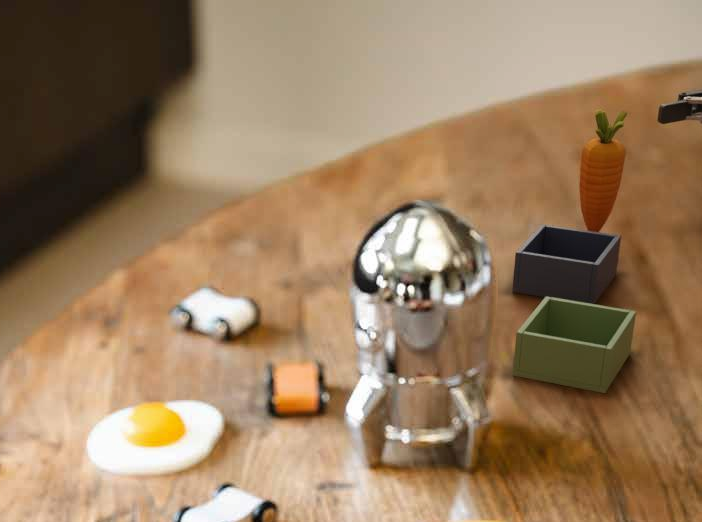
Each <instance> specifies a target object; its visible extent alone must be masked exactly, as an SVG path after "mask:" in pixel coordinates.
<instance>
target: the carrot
mask: <svg viewBox="0 0 702 522" xmlns="http://www.w3.org/2000/svg"><path fill="white" fill-rule="evenodd" d="M627 115H628V112H626V111H624V110H622V111H620V113H619V115H618V116H617V117H616V119H615V121H614V123H613V125H610V123H609V119H608V116H607V114H606V111H602V109H597V110H595V111H594V116H595V121H596V122H595V123H596V126H597V128H596V129H594V132H595V133H596V135H597V136H598V138H593V139H591V140H590V141H589V142H587V143H586V144H585V145H584V146H583V148H582V150H581V157H580V158H581V159H580V168H579V169H580V170H579V201H580V211H581V215H582V219H583V222H584V224H585V228H586V231H593V232H600V233H601V230H602V229H603V227H604V226H605V224H606V223H607V221H608V219H609V217H610V215H611V213H612V211H613V209H614V206H615V203H616V200H617V197H618V193H619V190H620V187H621V182H622V177H623V171H624V166H625V161H626V146H624V144H623V143H622V142H620V141H619V140H617V139H615V138H614V137H615V135H616V133H617V132H618V131H619V130H620V129H621V128H623V127H624V126H625V123H624V122H623V121H624V120H625V119H626V117H627Z"/></svg>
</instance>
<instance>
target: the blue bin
mask: <svg viewBox="0 0 702 522" xmlns="http://www.w3.org/2000/svg"><path fill="white" fill-rule="evenodd" d="M621 241H622V235H620V234H613V233H606V232H601V231H600V232H593V231H588V230H587V229H586V230H585V229H579V228H570V227H563V226H556V225H549V224H543V223H541V224H540V225H539V227H538V228H537V229H536V230H534V232H533V233H532V234H531V236H529V237H528V238H527V239H526V241H525V242H524V243H523V244H522V245H521V246H520V247H519V248H518V249H517V250H516V252H515V254H514V267H513V279H512V289H511V291H512V293H516V294H521V295H528V296H533V297H540V298H545V297H546V296H547V297H553V298H559V299H565V300H572V301H578V302H584V303H590V304H596V303H597V302H598V300H599V299H600V297H601V296H602V294H603V293H604V292H605V290H606V289H607V288H608V286H609V285H610V284H611V282H612V281H613V279H615V276H617V270H618V264H619V263H618V262H619V257H620V249H621Z"/></svg>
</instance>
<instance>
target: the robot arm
mask: <svg viewBox="0 0 702 522" xmlns="http://www.w3.org/2000/svg"><path fill="white" fill-rule="evenodd" d="M656 121H657V123H659V124H660V125H661V124H662V125H666V124H673V123H678V122H682V121H699V122H700V124H701V125H702V89H695V90H689V91H682V92H679V93H678V95H677V101H671V102H667V103H662V104H660V105H659V108H658V113H657V120H656Z"/></svg>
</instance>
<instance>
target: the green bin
mask: <svg viewBox="0 0 702 522" xmlns="http://www.w3.org/2000/svg"><path fill="white" fill-rule="evenodd" d="M636 316H637V311H636V310H631V309H625V308H620V307H619V308H618V307H614V306H613V307H612V306H606V305H602V304H601V305H600V304H596V303H595V304H590V303H584V302H578V301H572V300H565V299H559V298H553V297H547V296H546V297H543V299H542V300H541V302H540V303H539V304H538V305H537V306H536V308H535V309H534V310H533V312H532V313H530V315H529V317H528V318H527V319H526V320H525V321H524V322H523V324H522V325H521V327H519V329H518V330H516V333H515V344H514V356H513V367H512V376H514V377H519V378H524V379H529V380H534V381H539V382H545V383H550V384H554V385H559V386H566V387H569V388H575V389H579V390H584V391H585V390H586V391H590V392H596V393H601V394H606V393H607V391H608V390H609V388H610V386H611V385H612V383H613V382H614V380H615V378H616V377H617V376H618V374H619V372H620V370H621V369H622V367H624V364H625V362H626V361H627V359H628V357H629V356H630V354H631V350H632V349H631V348H632V342H633V337H634V329H635V323H636Z"/></svg>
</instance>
